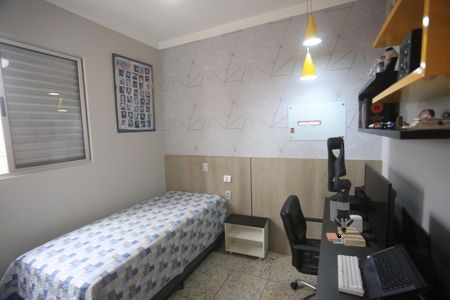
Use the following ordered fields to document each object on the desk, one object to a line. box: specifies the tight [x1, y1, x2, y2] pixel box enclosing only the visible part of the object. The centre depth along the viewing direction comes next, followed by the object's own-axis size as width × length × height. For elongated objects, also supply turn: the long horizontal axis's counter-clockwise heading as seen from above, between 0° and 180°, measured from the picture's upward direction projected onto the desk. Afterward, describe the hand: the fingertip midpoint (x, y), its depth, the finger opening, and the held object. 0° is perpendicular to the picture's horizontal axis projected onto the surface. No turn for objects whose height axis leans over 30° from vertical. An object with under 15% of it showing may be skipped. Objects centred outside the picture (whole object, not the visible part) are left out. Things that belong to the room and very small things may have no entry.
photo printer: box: [346, 214, 363, 233], centre depth 167 cm, size 10×4×12 cm, turn 81°
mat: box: [332, 238, 344, 245], centre depth 157 cm, size 14×6×1 cm, turn 165°
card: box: [326, 232, 339, 242], centre depth 158 cm, size 9×6×2 cm, turn 166°
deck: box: [337, 226, 367, 248], centre depth 156 cm, size 20×12×4 cm, turn 165°
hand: (343, 232), depth 156 cm, fingers closed
